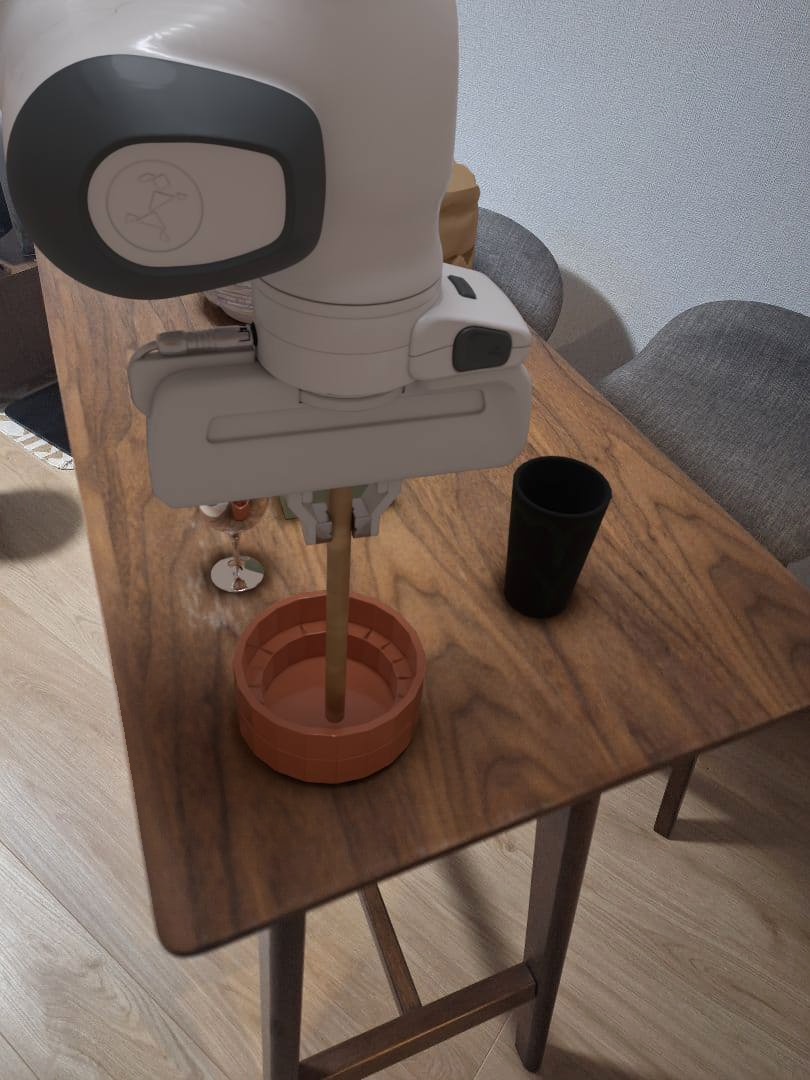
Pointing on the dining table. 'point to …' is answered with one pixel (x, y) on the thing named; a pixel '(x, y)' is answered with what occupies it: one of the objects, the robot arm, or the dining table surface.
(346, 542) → the stirring stick
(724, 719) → the dining table surface
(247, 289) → the paper bowls
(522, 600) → the cup
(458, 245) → the container
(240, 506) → the wineglass
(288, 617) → the orange round piece
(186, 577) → the dining table surface
